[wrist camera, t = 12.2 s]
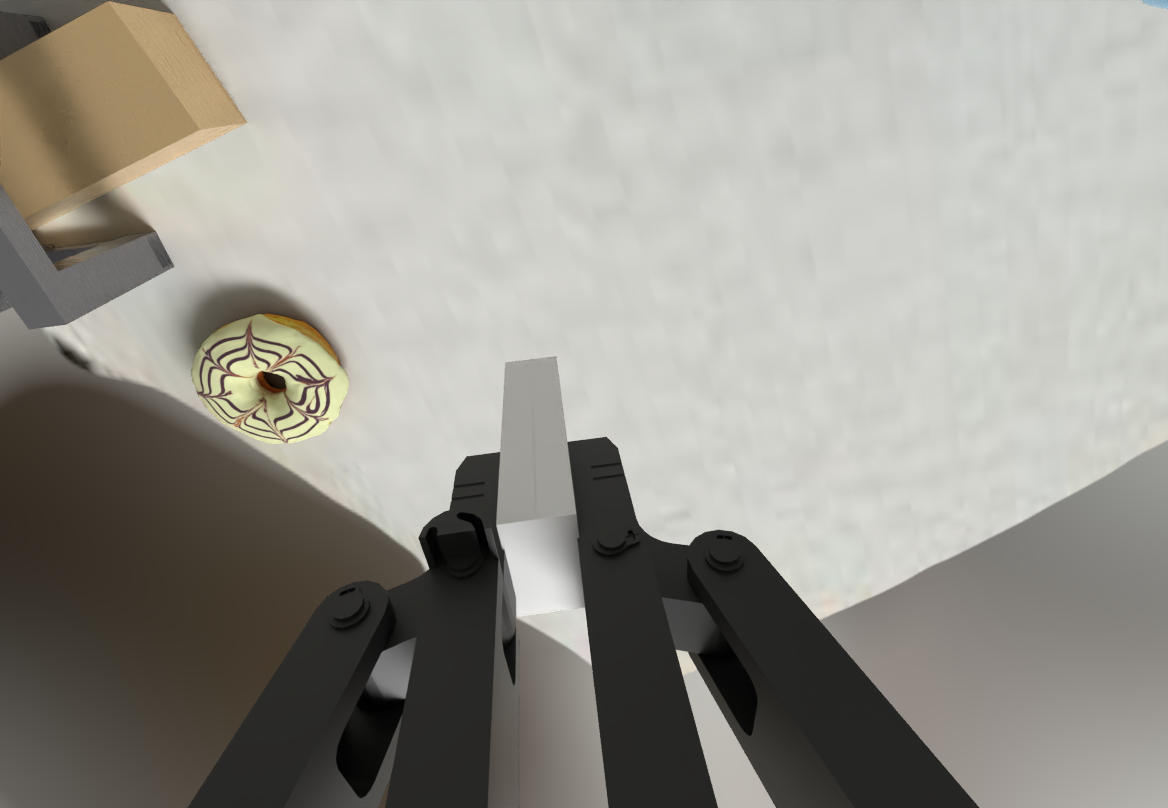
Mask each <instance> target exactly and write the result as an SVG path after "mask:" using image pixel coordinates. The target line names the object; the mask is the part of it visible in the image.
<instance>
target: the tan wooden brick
mask: <svg viewBox="0 0 1168 808" xmlns="http://www.w3.org/2000/svg"><path fill="white" fill-rule="evenodd" d="M246 123H247V122H246V120H245V119H244V117H243V116H242V114H241V113H240V111H239V110H238V108H237V107H236V105H235V104H234V102H233V101H232V99H231V98H230V96H229V95H228V93H227V92H226V90H225V89H224V87H223V86H222V84H221V83H220V81H219V80H218V79H217V77H216V76H215V74H214V73H213V71H212V70H211V68H210V67H209V65H208V64H207V62H206V61H205V59H204V58H203V56H202V55H201V53H200V52H199V50H198V49H197V47H196V46H195V44H194V43H193V41H192V40H191V38H190V37H189V35H188V34H187V32H186V31H185V29H184V28H183V26H182V25H181V23H180V22H179V20H178V19H177V17H176V16H175V14H171V13H166V12H161V11H156V10H151V9H146V8H141V7H136V6H131V5H125V4H120V3H115V2H110V1H107V2H105V3H104V4H102V5H100V6H98V7H96V8H95V9H93V10H91V11H89V12H87V13H85V14H84V15H82V16H80V17H78V18H76V19H75V20H73V21H71V22H69V23H67V24H65V25H64V26H62V27H60V28H58V29H56V30H55V31H53V32H51V33H49V34H47V35H46V36H44V37H42V38H40V39H38V40H36V41H35V42H33V43H31V44H29V45H27V46H26V47H24V48H22V49H20V50H18V51H16V52H15V53H13V54H11V55H9V56H7V57H6V58H4V59H2V60H0V184H1V185H2V187H3V188H4V190H5V191H6V193H7V194H8V196H9V197H10V199H11V200H12V202H13V203H14V205H15V207H16V208H17V210H18V211H19V213H20V214H21V216H22V217H23V219H24V220H25V222H26V223H27V225H28V226H29V228H30V229H31V231H32V230H34V229H36V228H38V227H40V226H42V225H44V224H46V223H48V222H50V221H52V220H54V219H56V218H58V217H60V216H62V215H64V214H66V213H68V212H70V211H72V210H74V209H76V208H78V207H80V206H82V205H84V204H86V203H88V202H90V201H92V200H94V199H96V198H98V197H100V196H102V195H104V194H106V193H108V192H110V191H112V190H114V189H116V188H118V187H120V186H122V185H124V184H126V183H128V182H130V181H132V180H134V179H136V178H138V177H140V176H142V175H144V174H146V173H148V172H150V171H152V170H154V169H156V168H158V167H160V166H162V165H164V164H166V163H168V162H170V161H172V160H174V159H176V158H178V157H180V156H182V155H184V154H186V153H188V152H190V151H192V150H194V149H196V148H198V147H200V146H202V145H204V144H206V143H208V142H210V141H212V140H214V139H216V138H218V137H220V136H222V135H224V134H226V133H228V132H230V131H232V130H234V129H236V128H238V127H240V126H242V125H244V124H246Z"/></svg>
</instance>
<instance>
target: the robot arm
mask: <svg viewBox="0 0 1168 808" xmlns="http://www.w3.org/2000/svg"><path fill="white" fill-rule="evenodd" d="M1141 1H1142V3H1145V4H1147V5H1150V6H1154V7H1159V8H1165V9H1168V0H1141ZM419 541H420V544H421V546H422V549H423V552H424V555H425V557H426V560H427V563H428V566H429V568H430V569H429V570H428V571H426V572H425V573H424V574H422V575H421V576H419V577H417V578H415V579H413V580H412V581H409V582H407V583H405V584H402V585H400V586H397V587H395V588H392V589H390V590H387V591H386V590H385V589H384V588H383V587H382V586H380V584H378V583H374V582H371V581H360V582H353V583H351V584H349V585H346V586H343V587H341V588H339V589H338V590H336V591H335V592H333V593H332V594H330V595H329V596H327V597H326V598H325V600H324V601H323V602H322V603H321V604H320V605H319V606H318V608H317V609H316V610H315V612H314V613H313V615H312V617H311V618H310V620H309V621H308V623H307V624H306V626H305V627H304V629H303V630H302V632H301V633H300V635H299V637H298V638H297V640H296V641H295V643H294V644H293V646H292V647H291V649H290V650H289V652H288V654H287V655H286V657H285V658H284V660H283V661H282V663H281V664H280V666H279V667H278V669H277V671H276V672H275V674H274V675H273V677H272V678H271V680H270V681H269V683H268V684H267V686H266V688H265V689H264V691H263V692H262V694H261V695H260V697H259V698H258V700H257V701H256V703H255V704H254V706H253V708H252V709H251V711H250V712H249V714H248V715H247V717H246V719H245V720H244V721H243V723H242V725H241V726H240V728H239V729H238V731H237V732H236V734H235V736H234V737H233V739H232V740H231V742H230V743H229V745H228V746H227V748H226V749H225V751H224V752H223V754H222V756H221V757H220V759H219V760H218V762H217V763H216V765H215V766H214V768H213V770H212V771H211V772H210V774H209V776H208V777H207V779H206V780H205V782H204V783H203V785H202V786H201V788H200V790H199V791H198V793H197V794H196V796H195V797H194V799H193V800H192V802H191V803H190V805H189V806H188V808H378V806H379V804H380V801H381V799H382V796H383V794H384V791H385V789H386V786H387V783H388V781H389V778H390V776H391V779H390V785H389V790H388V796H387V801H386V807H385V808H519V797H520V796H519V791H520V790H519V789H520V788H519V786H520V784H519V783H520V782H519V781H520V777H519V773H520V771H519V770H520V768H519V767H520V763H519V761H520V760H519V759H520V758H519V757H520V753H519V750H520V743H519V742H520V739H519V738H520V736H519V732H520V730H519V729H520V728H519V727H520V724H519V723H520V722H519V721H520V718H519V717H520V711H519V708H520V707H519V706H520V705H519V704H520V695H519V694H520V690H519V689H520V687H519V686H520V682H519V681H520V676H519V675H520V673H519V671H520V670H519V669H520V668H519V666H520V661H519V660H520V659H519V658H520V654H519V653H520V647H519V646H520V643H519V637H518V633H517V628H516V608H517V612H518V616H519V617H520V616H527V615H534V614H541V613H548V612H555V611H562V610H569V609H576V608H583V607H585V610H586V619H587V627H588V636H589V644H590V653H591V661H592V670H593V678H594V687H595V694H596V704H597V712H598V721H599V729H600V738H601V746H602V755H603V763H604V772H605V780H606V788H607V797H608V806H609V808H718V806H717V803H716V799H715V795H714V791H713V788H712V784H711V780H710V776H709V773H708V769H707V765H706V761H705V758H704V754H703V750H702V747H701V743H700V739H699V735H698V732H697V728H696V724H695V720H694V717H693V713H692V709H691V705H690V702H689V698H688V694H687V691H686V687H685V683H684V679H683V676H682V672H681V668H680V664H679V661H678V657H677V653H676V650H682V651H687V652H688V653H689V655H690V657H691V659H692V661H693V662H694V664H695V666H696V668H697V669H698V671H699V673H700V675H701V676H702V678H703V680H704V681H705V683H706V685H707V687H708V689H709V690H710V692H711V694H712V696H713V697H714V699H715V701H716V703H717V704H718V706H719V708H720V710H721V711H722V713H723V715H724V717H725V719H726V720H727V722H728V724H729V725H730V727H731V728H732V731H733V732H734V734H735V736H736V738H737V740H738V741H739V743H740V745H741V747H742V748H743V750H744V752H745V754H746V755H747V757H748V759H749V761H750V762H751V764H752V766H753V768H754V770H755V771H756V773H757V775H758V776H759V778H760V780H761V782H762V784H763V785H764V787H765V789H766V790H767V792H768V794H769V796H770V798H771V799H772V801H773V803H774V805H775V806H776V808H979V807H978V806H977V805H976V803H975V802H974V801H973V800H972V799H971V797H970V796H969V795H968V794H967V793H966V792H965V790H964V789H963V788H962V787H961V786H960V785H959V783H958V782H957V781H956V780H955V779H954V778H953V776H952V775H951V774H950V773H949V772H948V771H947V769H946V768H945V767H944V766H943V765H942V764H941V762H940V761H939V760H938V759H937V758H936V757H935V756H934V754H933V753H932V752H931V751H930V749H929V748H928V747H927V746H926V745H925V744H924V742H923V741H922V740H921V739H920V738H919V737H918V735H917V734H916V733H915V732H914V731H913V730H912V728H911V727H910V726H909V725H908V724H907V723H906V721H905V720H904V719H903V718H902V717H901V716H900V714H899V713H898V712H897V711H896V710H895V709H894V707H893V706H892V705H891V704H890V703H889V701H888V700H887V699H886V698H885V697H884V696H883V694H882V693H881V692H880V691H879V690H878V689H877V688H876V686H875V685H874V684H873V683H872V682H871V680H870V679H869V678H868V677H867V676H866V675H865V673H864V672H863V671H862V670H861V669H860V667H858V665H857V664H856V663H855V662H854V660H852V658H851V657H850V656H849V655H848V653H847V652H846V651H845V650H844V649H843V648H842V647H841V645H840V644H839V643H838V642H837V641H836V639H835V638H834V637H833V636H832V635H831V634H830V632H829V631H828V630H827V629H826V628H825V627H824V625H823V624H822V623H821V622H820V621H819V619H818V618H817V617H816V616H815V615H814V614H813V612H812V611H811V610H810V609H809V608H808V607H807V605H806V604H805V603H804V602H803V601H802V600H801V598H800V597H799V596H798V595H797V594H796V593H795V591H794V590H793V589H792V588H791V587H790V586H789V584H788V583H787V582H786V581H785V580H784V579H783V577H782V576H781V575H780V574H779V573H778V571H777V570H776V569H775V568H774V567H773V566H772V564H771V563H770V562H769V561H768V560H767V559H766V557H765V556H764V555H763V554H762V553H761V552H760V550H759V549H758V548H757V547H756V546H755V545H754V544H753V543H752V542H751V541H749V540H748V539H747V538H746V537H744V536H742V535H739V534H737V533H734V532H732V531H724V530H715V531H709V532H705V533H703V534H701V535H699V536H698V537H696V538H695V539H694V540H693V541H692V543H691V544H690V546H689V545H681V544H673V543H668V542H663V541H660V540H658V539H655V538H653V537H651V536H650V535H649V534H647V533H646V532H645V531H644V530H643V529H642V528H641V527H640V526H639V524H638V521H637V519H636V516H635V512H634V508H633V504H632V501H631V497H630V493H629V489H628V485H627V481H626V478H625V474H624V470H623V466H622V463H621V459H620V455H619V451H618V448H617V447H616V446H615V445H614V444H613V443H612V442H611V441H610V440H609V439H608V438H607V437H602V438H595V439H587V440H579V441H572V442H567V435H566V428H565V420H564V412H563V404H562V396H561V389H560V381H559V373H558V365H557V357H548V358H540V359H532V360H524V361H515V362H507V363H505V379H504V397H503V414H502V432H501V449H500V452H498V453H490V454H482V455H475V456H467V457H466V458H465V460H464V461H463V462H462V464H461V465H460V466H459V468H458V469H457V470H456V475H455V481H454V489H453V493H452V501H451V505H450V510H449V511H445V512H443V513H441V514H440V515H438V516H436V517H434V518H433V519H432V520H431V521H430V522H429V523H428V524H426V525H425V526H424V527H423V529H422V532H421V534H420V536H419ZM391 773H392V774H391Z"/></svg>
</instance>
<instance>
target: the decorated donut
mask: <svg viewBox="0 0 1168 808" xmlns="http://www.w3.org/2000/svg"><path fill="white" fill-rule="evenodd" d="M263 371H265V372H270V373H274V374H279V375H280V376H282V377H284V378H285V385H286V388H285V389H275V388H273V387H271V386H270V385H269V383H268V382H267V381H266V380H265V378H264V377H263V376H264V375H263V374H262V373H263ZM191 376H192V382H193V383H194V385H195V388H196V391H197V394H198V396H199V398H200V399H201V401H202V402H203V404H204V406H205V407H206V408H207V409H208V411H209V412H210V413H212V414H213V415H214V416H215V417H216V418H217V419H219V420H220V421H221V422H222V423H224V424H225V425H227V426H229V427H231V428H233V429H235V430H237V431H239V432H241V433H243V434H245V435H248V436H250V437H252V438H254V439H257V440H260V441H263V442H266V443H271V444H278V443H293V442H298V441H301V440H305V439H307V438H310V437H312V436H316V435H320V434H322V433H323V432H324V431H325V430H327V428H328V426H329V425H330V424H331V422H332V421H333V420H334V419H336V418H337V417H338V415H339V411H340V408H341V404H342V402H343V400H344V398H345V396H346V394H347V392H348V386H349V378H348V375H347V373H346V371H345V370H344V369H343V368H342V367H341V365H340V362H339V359H338V357H337V356H336V354H335V352H334V350H333V349H332V347H331V346H330V344H329V343H328V342H327V341H326V340H325V339H324V338H323V336H321V334H320V333H319V332H318V331H317V330H316V329H314V328H312V327H311V326H310V325H309V324H307V323H306V322H303V321H300V320H294V319H291V318H288V317H284V316H280V315H274V314H269V313H267V314H257V315H254V316H251V317H247V318H244V319H242V320H237V321H234V322H231V323H228V324H226V325H224V326H223V327H221V328H219V329H218V330H216V331H215V332H214V333H213V334H211V335H210V336H209V337H208V338H207V339H206V340H205V341H204V342H203V344H202V345H201V347H200V349H199V350H198V352H197V353H196V355H195V357H194V360H193V366H192V369H191Z"/></svg>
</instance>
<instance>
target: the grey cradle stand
mask: <svg viewBox="0 0 1168 808" xmlns="http://www.w3.org/2000/svg"><path fill="white" fill-rule="evenodd" d="M49 33H50V31H49V29H48V27H47V25H46V23H45V21H44V20H43V18H42V17H36V16H29V15H21V14H14V13H6V12H0V60H2V59H4V58H6V57H7V56H9V55H11V54H13V53H15V52H16V51H18V50H20V49H22V48H24V47H26V46H27V45H29V44H31V43H33V42H35V41H36V40H38V39H40V38H42V37H44V36H46V35H47V34H49ZM173 267H174V266H173V264H172V262H171V260H170V258H169V256H168V254H167V252H166V250H165V248H164V247H163V245H162V243H161V241H160V239H159V237H158V235H157V233H156V231H155V232H147V233H139V234H131V235H125V236H122V237H120V238H117V239H115V240H112V241H106V242H98V243H90V244H82V245H74V246H66V247H58V248H54V247H53V245H52V244H51V245H43V246H41V245H40V243H39V242H38V240H37V239H36V237H35V236H34V234H33V233H32V231H31V229H30V228H29V226H28V225H27V223H26V222H25V220H24V219H23V217H22V216H21V214H20V213H19V211H18V210H17V208H16V207H15V205H14V203H13V202H12V200H11V199H10V197H9V196H8V194H7V193H6V191H5V190H4V188H3V187H2V185H1V184H0V312H2V311H5V310H7V309H9V308H11V307H13V308H14V309H15V311H16V312H17V314H18V315H19V316H20V318H21V319H22V320H23V322H24V323H25V324H26V326H27V327H28V329H35V328H43V327H51V326H58V325H66V324H68V323H70V322H72V321H74V320H76V319H78V318H79V317H81V316H83V315H85V314H87V313H89V312H91V311H93V310H94V309H96V308H98V307H100V306H102V305H104V304H106V303H107V302H109V301H111V300H113V299H115V298H117V297H119V296H121V295H122V294H124V293H126V292H128V291H130V290H132V289H134V288H135V287H137V286H139V285H141V284H143V283H145V282H147V281H149V280H150V279H152V278H154V277H156V276H158V275H160V274H162V273H164V272H165V271H167V270H169V269H171V268H173Z"/></svg>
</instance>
